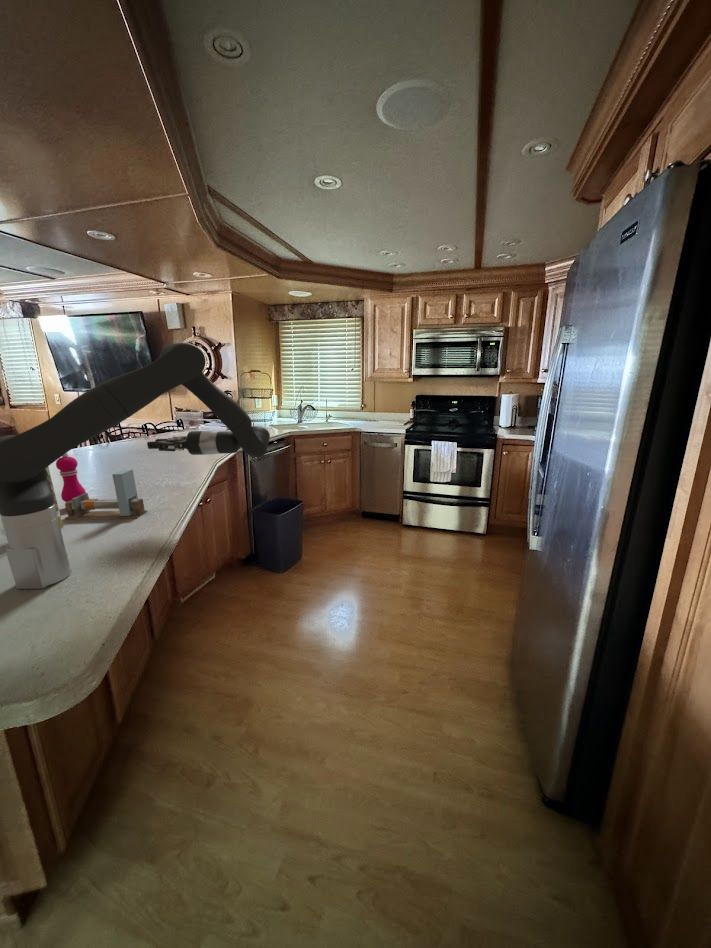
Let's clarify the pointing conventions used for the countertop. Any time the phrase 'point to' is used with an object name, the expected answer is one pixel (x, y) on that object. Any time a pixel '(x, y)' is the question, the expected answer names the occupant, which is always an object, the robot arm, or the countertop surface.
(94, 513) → the rail
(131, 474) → the light blue block
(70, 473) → the pepper mill
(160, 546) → the countertop surface
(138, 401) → the robot arm
